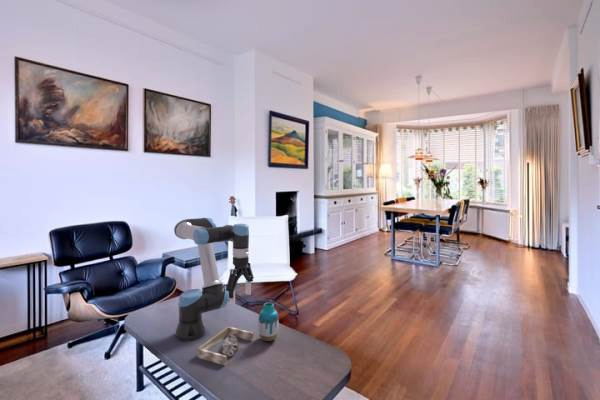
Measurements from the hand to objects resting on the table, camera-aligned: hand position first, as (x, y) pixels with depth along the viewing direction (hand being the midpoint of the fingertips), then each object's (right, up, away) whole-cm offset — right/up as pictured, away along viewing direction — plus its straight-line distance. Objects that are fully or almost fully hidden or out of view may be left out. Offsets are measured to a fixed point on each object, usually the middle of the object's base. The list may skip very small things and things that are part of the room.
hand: (240, 299), depth 146 cm
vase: (+12, -26, +14) cm, 32 cm away
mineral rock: (-6, -27, +3) cm, 27 cm away
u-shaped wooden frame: (-8, -26, +5) cm, 28 cm away
